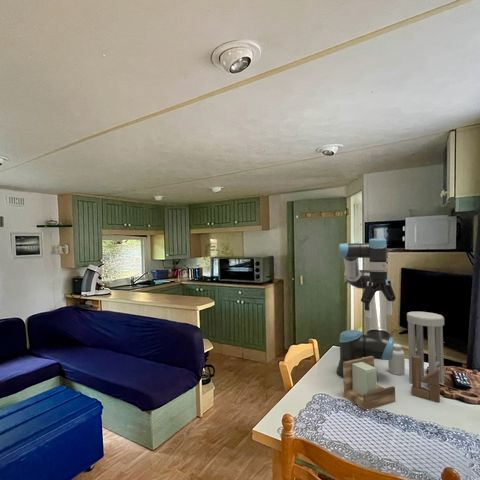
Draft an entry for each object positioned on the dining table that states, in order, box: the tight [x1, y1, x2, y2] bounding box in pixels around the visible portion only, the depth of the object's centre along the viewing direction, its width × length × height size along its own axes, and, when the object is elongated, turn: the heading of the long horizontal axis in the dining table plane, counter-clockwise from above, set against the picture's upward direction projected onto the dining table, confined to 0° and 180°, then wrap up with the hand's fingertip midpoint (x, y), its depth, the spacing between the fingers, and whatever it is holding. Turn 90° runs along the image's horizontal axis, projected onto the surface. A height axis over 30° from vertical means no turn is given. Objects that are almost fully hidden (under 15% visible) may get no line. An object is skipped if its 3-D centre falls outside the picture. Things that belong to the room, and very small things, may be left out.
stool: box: [406, 311, 445, 385], centre depth 146 cm, size 16×16×35 cm
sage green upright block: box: [352, 362, 378, 396], centre depth 130 cm, size 8×6×12 cm
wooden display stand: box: [342, 356, 396, 411], centre depth 131 cm, size 13×18×16 cm
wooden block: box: [410, 354, 441, 403], centre depth 133 cm, size 4×11×18 cm, turn 51°
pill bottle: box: [387, 343, 406, 376], centre depth 160 cm, size 8×8×15 cm
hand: (379, 316), depth 136 cm, fingers open, 13 cm apart
